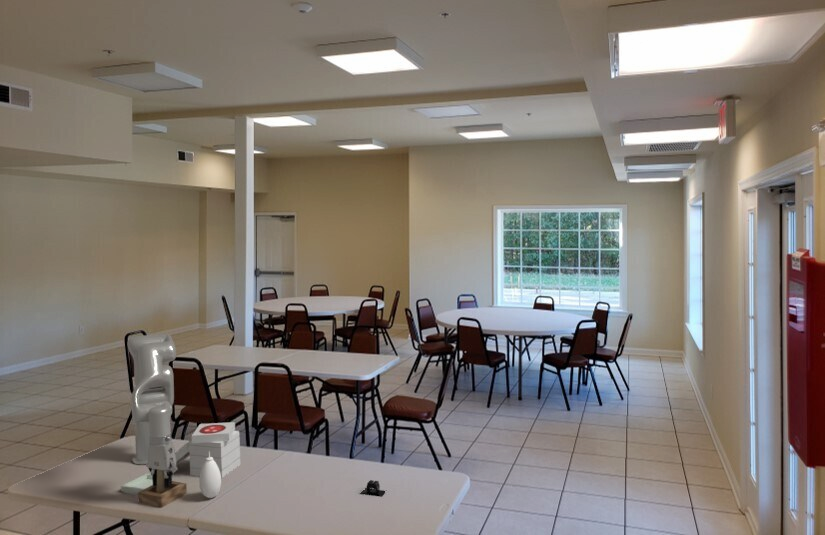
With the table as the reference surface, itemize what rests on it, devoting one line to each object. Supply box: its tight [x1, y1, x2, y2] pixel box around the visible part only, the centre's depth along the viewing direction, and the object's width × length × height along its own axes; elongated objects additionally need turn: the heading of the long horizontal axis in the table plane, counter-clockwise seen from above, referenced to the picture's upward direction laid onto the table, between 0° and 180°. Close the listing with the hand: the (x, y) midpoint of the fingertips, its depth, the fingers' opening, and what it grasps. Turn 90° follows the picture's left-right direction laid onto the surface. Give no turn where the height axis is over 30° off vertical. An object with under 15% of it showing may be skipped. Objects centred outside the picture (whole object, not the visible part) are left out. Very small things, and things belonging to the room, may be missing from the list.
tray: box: [120, 472, 153, 496], centre depth 236 cm, size 13×12×2 cm
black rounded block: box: [358, 479, 386, 498], centre depth 228 cm, size 12×7×5 cm, turn 71°
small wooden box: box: [137, 480, 188, 508], centre depth 226 cm, size 12×12×4 cm
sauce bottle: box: [198, 452, 222, 499], centre depth 226 cm, size 8×8×18 cm
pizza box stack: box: [175, 421, 241, 479], centre depth 254 cm, size 19×30×18 cm, turn 77°
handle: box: [154, 462, 168, 494], centre depth 226 cm, size 5×6×15 cm
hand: (162, 485), depth 226 cm, fingers open, 5 cm apart
